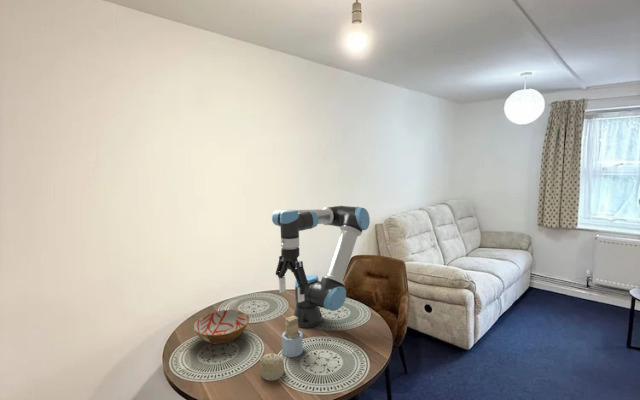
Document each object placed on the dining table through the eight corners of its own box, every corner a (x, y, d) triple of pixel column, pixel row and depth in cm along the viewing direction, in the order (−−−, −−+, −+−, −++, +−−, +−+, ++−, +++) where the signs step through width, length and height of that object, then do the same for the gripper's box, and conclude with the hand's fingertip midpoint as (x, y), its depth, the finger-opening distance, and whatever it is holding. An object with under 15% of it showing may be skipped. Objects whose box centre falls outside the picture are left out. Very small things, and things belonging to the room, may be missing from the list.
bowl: (260, 330, 159) (260, 315, 158) (225, 358, 136) (224, 340, 135) (220, 321, 169) (219, 306, 168) (181, 345, 147) (180, 328, 146)
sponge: (269, 375, 131) (254, 356, 130) (289, 361, 131) (274, 342, 130) (268, 391, 122) (251, 371, 120) (288, 375, 122) (272, 355, 120)
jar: (278, 350, 141) (277, 334, 140) (295, 343, 147) (294, 327, 146) (290, 359, 134) (289, 342, 134) (307, 351, 140) (306, 335, 139)
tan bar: (286, 350, 140) (285, 318, 139) (294, 346, 143) (293, 315, 142) (290, 352, 138) (289, 321, 136) (298, 349, 141) (298, 317, 139)
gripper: (266, 243, 143) (268, 290, 145) (300, 254, 124) (302, 308, 126) (281, 241, 148) (282, 286, 150) (316, 251, 129) (317, 303, 131)
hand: (291, 296), depth 138 cm, fingers open, 13 cm apart
